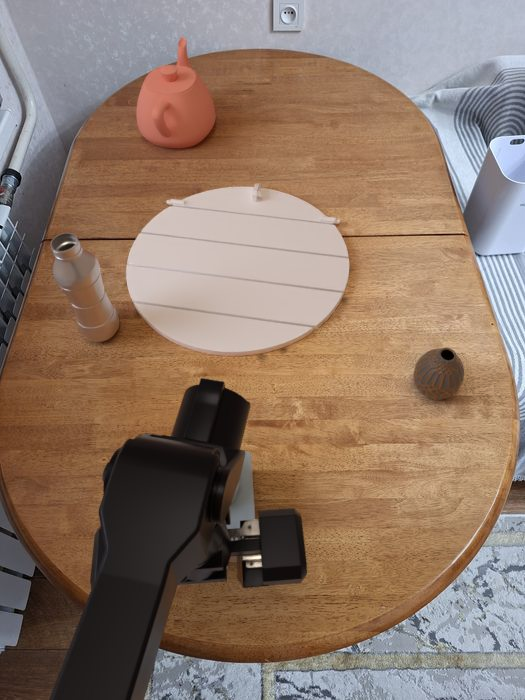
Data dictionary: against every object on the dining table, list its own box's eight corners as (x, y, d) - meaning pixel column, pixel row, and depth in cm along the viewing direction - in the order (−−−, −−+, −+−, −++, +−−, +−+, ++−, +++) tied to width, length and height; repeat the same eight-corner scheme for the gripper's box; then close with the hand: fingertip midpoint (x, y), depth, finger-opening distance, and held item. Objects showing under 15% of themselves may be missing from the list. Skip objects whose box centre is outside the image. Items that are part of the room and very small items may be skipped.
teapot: (157, 91, 129) (146, 32, 118) (227, 96, 127) (222, 36, 116) (126, 158, 115) (110, 98, 104) (204, 165, 114) (196, 104, 102)
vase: (455, 370, 85) (472, 337, 77) (456, 409, 81) (474, 379, 74) (410, 364, 85) (422, 331, 78) (408, 403, 82) (421, 371, 74)
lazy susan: (164, 178, 111) (161, 164, 109) (358, 200, 107) (360, 185, 104) (95, 337, 89) (89, 324, 87) (335, 372, 85) (337, 360, 82)
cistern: (258, 559, 69) (256, 542, 63) (179, 566, 69) (169, 549, 63) (252, 469, 76) (250, 445, 70) (180, 475, 76) (171, 451, 69)
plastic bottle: (73, 335, 90) (28, 247, 73) (102, 308, 93) (65, 218, 76) (102, 353, 88) (62, 267, 71) (131, 325, 91) (99, 236, 74)
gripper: (296, 427, 48) (292, 490, 61) (82, 443, 48) (123, 502, 61) (312, 560, 42) (303, 598, 55) (65, 579, 41) (115, 613, 54)
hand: (209, 573), depth 56 cm, fingers open, 6 cm apart
